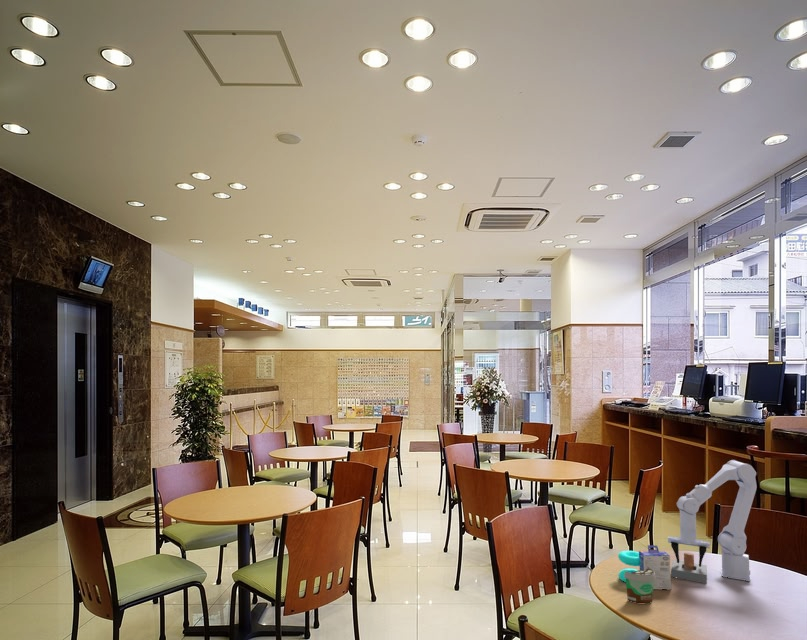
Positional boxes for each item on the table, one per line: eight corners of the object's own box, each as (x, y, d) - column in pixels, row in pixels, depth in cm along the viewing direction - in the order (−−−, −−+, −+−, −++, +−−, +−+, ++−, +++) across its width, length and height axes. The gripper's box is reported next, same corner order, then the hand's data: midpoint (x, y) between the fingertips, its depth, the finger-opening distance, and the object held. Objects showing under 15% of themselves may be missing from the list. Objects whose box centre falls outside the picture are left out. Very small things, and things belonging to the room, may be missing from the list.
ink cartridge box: (665, 584, 211) (664, 544, 212) (672, 590, 206) (671, 549, 207) (638, 583, 212) (638, 544, 213) (644, 589, 206) (643, 548, 207)
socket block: (706, 573, 224) (706, 565, 224) (706, 583, 213) (706, 575, 213) (673, 567, 229) (673, 560, 230) (671, 577, 219) (671, 569, 219)
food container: (639, 608, 190) (638, 577, 191) (624, 601, 196) (624, 571, 196) (664, 601, 196) (663, 571, 197) (649, 595, 201) (648, 566, 202)
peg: (694, 574, 222) (693, 553, 223) (694, 577, 219) (693, 556, 220) (684, 573, 224) (683, 552, 224) (684, 575, 220) (683, 554, 221)
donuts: (652, 557, 212) (629, 559, 209) (653, 584, 211) (629, 587, 208) (635, 548, 221) (612, 550, 219) (635, 575, 221) (613, 577, 218)
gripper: (667, 528, 223) (668, 563, 222) (709, 533, 216) (710, 570, 215) (668, 523, 229) (669, 558, 228) (709, 529, 222) (710, 565, 221)
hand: (689, 564), depth 222 cm, fingers open, 7 cm apart
